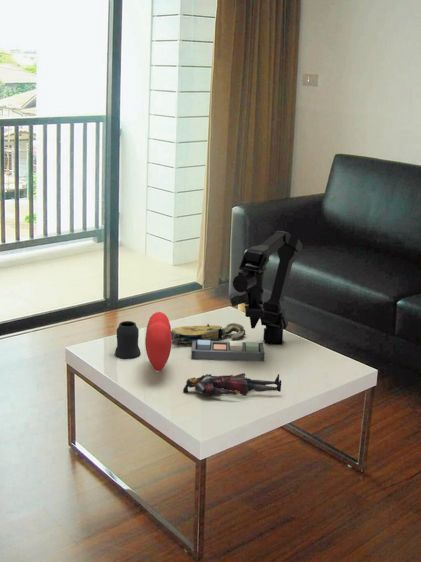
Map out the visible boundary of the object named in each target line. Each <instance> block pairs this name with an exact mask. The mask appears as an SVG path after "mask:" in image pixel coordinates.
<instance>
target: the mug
mask: <svg viewBox="0 0 421 562" xmlns="http://www.w3.org/2000/svg"><path fill="white" fill-rule="evenodd" d="M139 332H140V331H139V328H138V326H137V323H136V322H134V321H130V320H126V321H125V320H124V321H121V322H119V324H118V326H117V328H116V348H115V351H114V356H115V357H116V358H118V359H121V360H134V359H137V358H140V357H141V354H142V353H141V349H140V346H139V335H140V334H139Z"/></svg>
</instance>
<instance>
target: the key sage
mask: <svg viewBox="0 0 421 562" xmlns="http://www.w3.org/2000/svg"><path fill="white" fill-rule="evenodd" d="M245 342H246V345H245V349H246V352H259V344H258V343H259V341H245Z"/></svg>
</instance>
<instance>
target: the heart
mask: <svg viewBox="0 0 421 562" xmlns="http://www.w3.org/2000/svg"><path fill="white" fill-rule="evenodd" d="M171 331H172V327H171V323H170V320H169V316H167V315H166V314H165V313H164V312H162V311H161V312H160V311H157V312H155V313H153V314H152V315H151V316H150V317H149V319H148V323H147V326H146V329H145V340H144V341H145V342H144V344H145V352H146V356H147V360H148V362H149V363H150V365H151V367H152V368H153V370H154V371H156V372H157V373H159V372H162V370H163V369H164V367H166V364H167V363H168V360H169V358H170V355H171V351H172V344H173V342H172V334H171Z"/></svg>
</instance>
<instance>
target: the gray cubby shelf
mask: <svg viewBox="0 0 421 562" xmlns="http://www.w3.org/2000/svg"><path fill="white" fill-rule="evenodd" d="M191 343H192V344H191V355H190V356H191V359H190V360H204V361H205V360H207V361H233V362H236V361H238V362H239V361H240V362H263V363H265V356H266V355H265V347H264V343H263V342H258V344H259V352H246V349H245V345H246V341H244V342H243V341H242V344H243V348H242V351H230V348H229V347H230V341H223V340H213V341H210V350H197V344H198V341H197V340H193V342H191ZM214 344H221V345H226V351H215V350H213V349H214Z"/></svg>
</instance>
